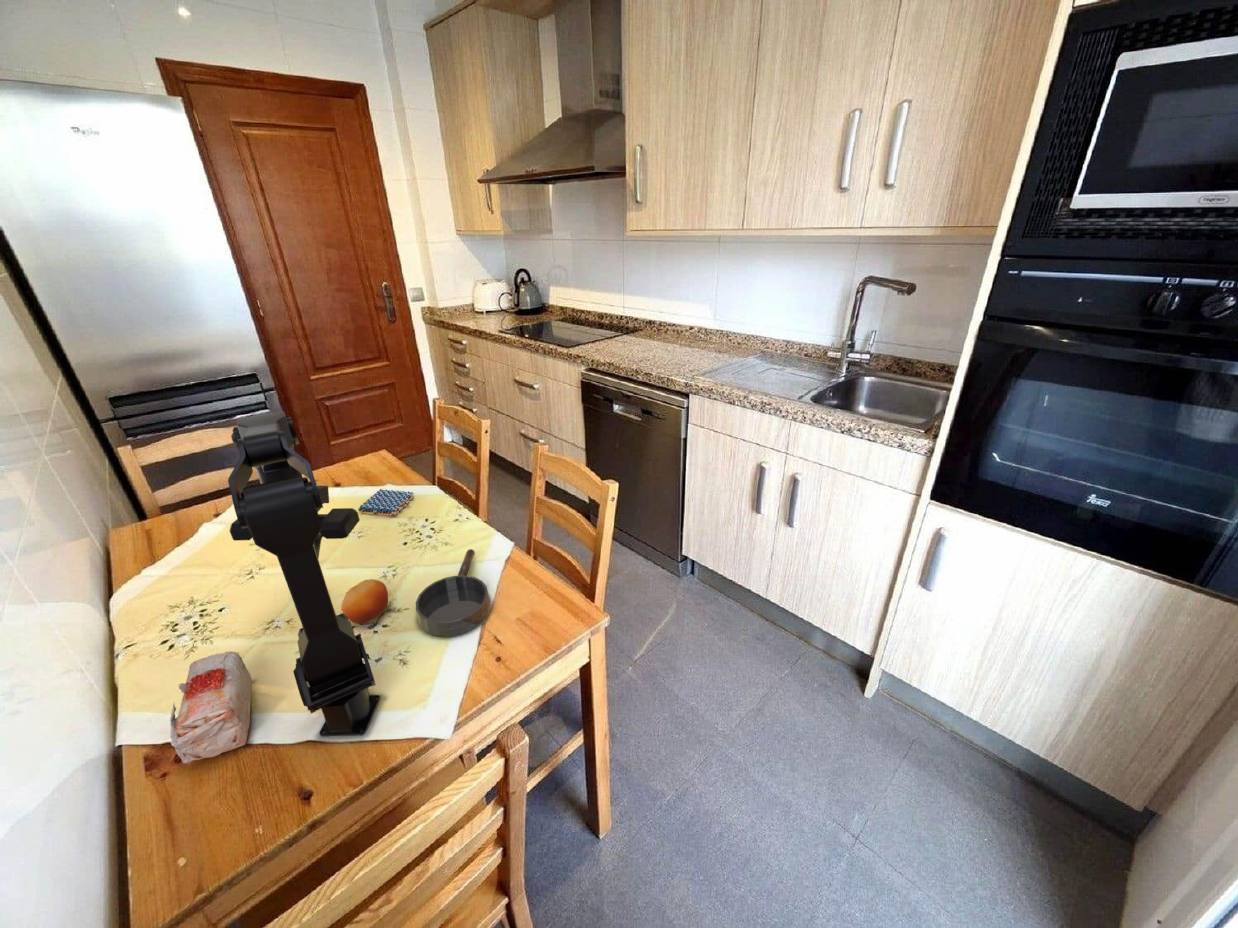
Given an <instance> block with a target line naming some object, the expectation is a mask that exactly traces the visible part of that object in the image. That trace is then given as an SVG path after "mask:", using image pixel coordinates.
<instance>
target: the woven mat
mask: <svg viewBox="0 0 1238 928" xmlns="http://www.w3.org/2000/svg"><path fill="white" fill-rule="evenodd" d="M413 499H415V494H414V492H413V491H412V492H410V491H404V490H402V491H400V490H393V489H391V490H388V489H382V488H380V489H379V490H377V491H376V492H374V493H373V494H372V495H371V496H370V497H369V498H368V499H366V501H364V502H363V503H362V504H360V506H359V508H358V510H357V512H358V513H360V514H366V515H374V514H375V515H376V514H377V515H379V516H390V517H391V516H396V515H399V513H400V511H401V510H403V509H404V508H406V507H408V505H407V504H410V502H411V500H413Z"/></svg>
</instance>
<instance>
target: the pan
mask: <svg viewBox="0 0 1238 928" xmlns="http://www.w3.org/2000/svg"><path fill="white" fill-rule="evenodd" d="M490 609H491V602H490V595H489V590H488V586H487V585H486V583H484V581H483V580H481V579H479V578H477V577H474V576H471V575H467V576H466V575H464V576H458V575H453V576H452V575H451V576H447V577H443V578H441V579H439V580H436V581H434V582H432V583H431V584H429V585H428V586H426V587H425V588H424V589H423V590H422V591H421V592H420V593H419V594H418V596H417V598H416V600H415V612H416V613H415V614H416V617H417V621H418V624H419V627H420V628H421V630H422V631H423V632H425V633H426V634H428V635H430V636H432V637H435V638H453V637H458V636H463V635H465V634H467V633H469V632H472V631H473V630H475V629H476V628H478V627H479V626H480V625H482V623H483V622H484V621H486V618H487V617H488V615H489V613H490Z"/></svg>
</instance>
